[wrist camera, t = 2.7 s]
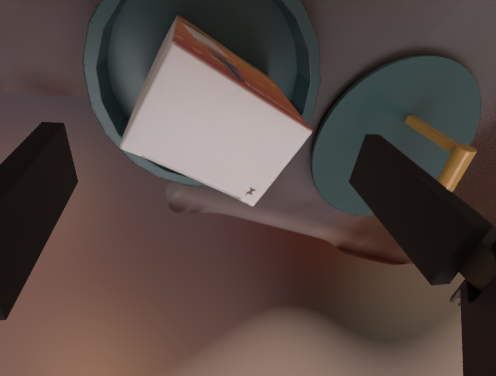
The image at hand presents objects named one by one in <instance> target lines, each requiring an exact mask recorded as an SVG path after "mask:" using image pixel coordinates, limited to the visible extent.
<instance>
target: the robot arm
mask: <svg viewBox="0 0 496 376" xmlns="http://www.w3.org/2000/svg"><path fill="white" fill-rule="evenodd" d="M77 183H78V179H77V175H76V171H75V167H74V163H73V159H72V154H71V151H70V146H69V142H68V138H67V134H66V129H65V125H64V123H53V122H42V123H41V124H40V125H39V126H38V127H37V128H36V129H35V130H34V131H33V132H32V133H31V134H30V135H29V136H28V137H27V138H26V139H25V140H24V141H23V142H22V143H21V144H20V145H19V146H18V147H17V148H16V149H15V150H14V151H13V152H12V153H11V154H10V155H9V156H8V157H7V158H6V159H5V160H4V161H3V162H2V163H1V164H0V320H6V319H7V317H8V315H9V313H10V311H11V309H12V308H13V306H14V304H15V302H16V300H17V298H18V296H19V294H20V292H21V290H22V288H23V287H24V284H25V283H26V281H27V279H28V277H29V275H30V273H31V271H32V269H33V267H34V265H35V264H36V261H37V260H38V258H39V256H40V254H41V252H42V250H43V248H44V246H45V244H46V242H47V241H48V239H49V237H50V235H51V233H52V231H53V229H54V227H55V225H56V223H57V221H58V219H59V217H60V216H61V214H62V212H63V210H64V208H65V206H66V204H67V202H68V200H69V198H70V196H71V194H72V192H73V191H74V189H75V187H76V185H77ZM349 183H350V184H351V186H352V187H353V188H354V189H355V191H356V192H357V193H358V194H359V196H360V197H361V198H362V199H363V201H364V202H365V203H366V204H367V206H368V207H369V208H370V209H371V211H372V212H373V213H374V214H375V216H376V217H377V218H378V219H379V221H380V222H381V223H382V224H383V226H384V227H385V228H386V229H387V231H388V232H389V233H390V234H391V236H392V237H393V238H394V239H395V241H396V242H397V243H398V244H399V246H400V247H401V248H402V249H403V251H404V252H405V253H406V254H407V256H408V257H409V258H410V259H411V261H412V262H413V263H414V264H415V265H416V267H417V268H418V269H419V270H420V272H421V273H422V274H423V275H424V277H425V278H426V279H427V280H428V282H429V283H430V284H431V285H441V284H450V282H451V281H452V280H453V278H454V277H455V276H456V275H457V273H458V272H460V274H461V275H462V276H463V277H464V278H465V280H464V281H463V282H462V284H461V285H460V286H459V288H458V289H457V290H456V291H455V293H454V294H453V295H452V297H451V299H450V302H454V301H455V299H456V298H461V301H460V303H459V304H458V305H459V306H461V323H462V350H463V376H496V227H495V226H494V225H493V224H491V223H490V222H489V221H488V220H487V219H485V218H484V217H483V216H482V215H480V214H479V213H478V212H477V211H475V210H474V209H472V208H471V207H470V206H469V205H468V204H467V203H465V202H463V201H462V199H460V198H459V197H458V196H457V195H455V194H454V193H453V192H451V191H449V190H448V189H447V188H446V187H444V186H443V185H442V184H441V183H439V182H438V181H437V180H436V179H435V178H433V177H432V176H431V175H430V174H428V173H427V172H426V171H425V170H423V169H422V168H421V167H420V166H418V165H417V164H416V163H415V162H413V161H412V160H411V159H410V158H408V157H407V156H406V155H405V154H403V153H402V152H401V151H400V150H398V149H397V148H396V147H395V146H393V145H392V144H391V143H390V142H389V141H387V140H386V139H385V138H384V137H382V136H381V135H379V134H365V137H364V140H363V143H362V146H361V149H360V151H359V154H358V157H357V160H356V163H355V165H354V168H353V171H352V174H351V177H350V179H349Z"/></svg>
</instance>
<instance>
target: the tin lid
mask: <svg viewBox="0 0 496 376" xmlns="http://www.w3.org/2000/svg"><path fill="white" fill-rule="evenodd" d="M480 114H481V97H480V91H479V88H478V86H477V83H476V81H475V79H474V78H473V76H472V75H471V73H470V72H469V71H468V70H467V69H466V68H465V67H464V66H462V65H460V64H459V63H457V62H456V61H453V60H451V59H448V58H445V57H441V56H436V55H415V56H408V57H404V58H401V59H397V60H394V61H392V62H389V63H387V64H384V65H382V66H380V67H378V68H377V69H375V70H373V71H371V72H369V73H368V74H367V75H365V76H364V77H362V78H361V79H359V80H358V81H357V82H356V83H355V84H353V85H352V86H351V87H350V88H349V89H348V90H347V91H346V92H345V93H344V94H343V95H342V96H341V97H340V98H339V99H338V100H337V101H336V103H335V104H334V105H333V107H332V108H331V109H330V111H329V112H328V114H327V115H326V117H325V119H324V120H323V122H322V124H321V126H320V128H319V130H318V132H317V135H316V138H315V141H314V144H313V149H312V154H311V172H312V177H313V181H314V184H315V186H316V188H317V190H318V192H319V193H320V195H321V196H322V197H323V199H324V200H325V201H326V202H327V203H328V204H330V205H331V206H332V207H334V208H335V209H338V210H340V211H342V212H345V213H348V214H353V215H364V216H368V215H375V214H374V213H373V212H372V211H371V209H370V208H369V207H368V206H367V204H366V203H365V202H364V201H363V199H362V198H361V197H360V196H359V194H358V193H357V192H356V191H355V189H354V188H353V187H352V186H351V184H350V183H349V179H350V177H351V174H352V171H353V168H354V165H355V163H356V160H357V157H358V154H359V151H360V149H361V146H362V143H363V140H364V137H365V134H379V135H381V136H382V137H384V138H385V139H386V140H387V141H389V142H390V143H391V144H392V145H393V146H395V147H396V148H397V149H398V150H400V151H401V152H402V153H403V154H405V155H406V156H407V157H408V158H410V159H411V160H412V161H413V162H415V163H416V164H417V165H418V166H420V167H421V168H422V169H423V170H425V171H426V172H427V173H428V174H430V175H431V176H432V177H433V178H435V179H436V180H437V181H438V182H439V183H441V184H442V185H443V186H444V187H446V188H447V189H448V190H449V191H451V192H453V190H454V189H455V187H456V185H457V184H458V182H459V181H460V179H461V177H462V176H463V174H464V172H465V171H466V169H467V167H468V166H469V164H470V162H471V161H472V159H473V157H474V156H475V154H476V152H477V150H476V149H475V148H473V147H471V146H470V145H471V143H472V141H473V139H474V136H475V134H476V131H477V128H478V124H479V121H480Z"/></svg>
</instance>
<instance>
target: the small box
mask: <svg viewBox="0 0 496 376" xmlns="http://www.w3.org/2000/svg"><path fill="white" fill-rule="evenodd" d="M311 134H312V129H311V128H310V127H309V125H308V124H307V123H306V122H305V120H304V119H303V118H302V117H301V116H300V114H299V113H298V112H297V110H296V109H295V108H294V107H293V105H292V104H291V103H290V102H289V100H288V99H287V98H286V97H285V95H284V94H283V93H282V92H281V90H280V89H279V88H278V87H277V85H276V84H275V83H274V82H273V80H272V79H271V78H270V77H269V76H268V75H267V74H265V73H263V72H262V71H260V70H259V69H257V68H256V67H254V66H252V65H251V64H249V63H248V62H246V61H245V60H243V59H242V58H241V57H239V56H238V55H236V54H235V53H233V52H232V51H230V50H229V49H228V48H226V47H225V46H223V45H222V44H221V43H219V42H218V41H216V40H215V39H213V38H212V37H211V36H209V35H208V34H206V33H205V32H203V31H202V30H200V29H199V28H198V27H196V26H195V25H193V24H192V23H190V22H189V21H188V20H186V19H185V18H183V17H182V16H180V15H177V16H176V18H175V20H174V22H173V23H172V25H171V27H170V29H169V31H168V33H167V35H166V37H165V39H164V41H163V43H162V45H161V47H160V49H159V51H158V54H157V56H156V58H155V60H154V62H153V64H152V66H151V69H150V71H149V73H148V75H147V77H146V80H145V82H144V84H143V87H142V89H141V92H140V94H139V97H138V99H137V102H136V104H135V107H134V109H133V112H132V114H131V117H130V119H129V122H128V125H127V127H126V129H125V132H124V134H123V137H122V139H121V141H120V148H121V149H122V150H125V151H127V152H130V153H133V154H135V155H138V156H140V157H143V158H145V159H148V160H150V161H153V162H155V163H157V164H160V165H162V166H164V167H167V168H169V169H171V170H174V171H176V172H178V173H181V174H183V175H185V176H187V177H190V178H192V179H194V180H197V181H199V182H201V183H204V184H206V185H208V186H210V187H213V188H215V189H217V190H219V191H222V192H224V193H226V194H228V195H230V196H232V197H234V198H236V199H238V200H240V201H242V202H244V203H246V204H248V205H250V206H254V205H255V204H256V202H257V201H258V200H259V199H260V197H261V196H262V195H263V194H264V193H265V191H266V190H267V189H268V188H269V186H270V185H271V184H272V183H273V181H274V180H275V179H276V178H277V176H278V175H279V174H280V173H281V171H282V170H283V169H284V168H285V166H286V165H287V164H288V163H289V161H290V160H291V159H292V158H293V156H294V155H295V154H296V153H297V151H298V150H299V149H300V148H301V146H302V145H303V144H304V142H305V141H306V140H307V138H308V137H309V136H310V135H311Z"/></svg>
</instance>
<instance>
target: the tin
mask: <svg viewBox="0 0 496 376" xmlns="http://www.w3.org/2000/svg"><path fill="white" fill-rule="evenodd" d="M177 15H180V16H182V17H183V18H185V19H186V20H188V21H189V22H190V23H192V24H193V25H195V26H196V27H198V28H199V29H200V30H202V31H203V32H205V33H206V34H208V35H209V36H211V37H212V38H213V39H215V40H216V41H218V42H219V43H221V44H222V45H223V46H225V47H226V48H228V49H229V50H230V51H232V52H233V53H235V54H236V55H238V56H239V57H241V58H242V59H243V60H245V61H246V62H248V63H249V64H251V65H252V66H254V67H256V68H257V69H259V70H260V71H262V72H263V73H265V74H267V75H268V76H269V77H270V78H271V79H272V80H273V82H274V83H275V84H276V85H277V87H278V88H279V89H280V90H281V92H282V93H283V94H284V95H285V97H286V98H287V99H288V100H289V102H290V103H291V104H292V105H293V107H294V108H295V109H296V110H297V112H298V113H299V114H300V116H301V117H302V118H303V119H304V120H305V122H306V123H308V122H309V120H310V118H311V116H312V114H313V111H314V107H315V103H316V99H317V94H318V90H319V86H320V80H321V77H320V57H319V45H318V44H319V43H318V40H317V37H316V35H315V32H314V29H313V27H312V24H311V21H310V19H309V16H308V13H307V11H306V8H305V6H304V5H303V4H302V2H301V1H300V0H101V2H100V3H99V5H98V7H97V8H96V10H95V12H94V14H93V15H92V17H91V19H90V22H89V25H88V31H87V37H86V44H85V50H84V57H83V69H84V74H85V79H86V85H87V90H88V96H89V101H90V105H91V107H92V109H93V110H94V112H95V114H96V116H97V118H98V120H99V122H100V123H101V125H102V127H103V129H104V131H105V133H106V135H107V136H108V137H109V138H110V139H111V140H112V141H113V142H114V144H115V145H117V147H118V148H120V141H121V139H122V137H123V134H124V132H125V129H126V127H127V125H128V122H129V119H130V117H131V114H132V112H133V109H134V107H135V104H136V102H137V99H138V97H139V94H140V92H141V89H142V87H143V84H144V82H145V80H146V77H147V75H148V73H149V71H150V69H151V66H152V64H153V62H154V60H155V58H156V56H157V54H158V51H159V49H160V47H161V45H162V43H163V41H164V39H165V37H166V35H167V33H168V31H169V29H170V27H171V25H172V23H173V22H174V20H175V18H176V16H177ZM120 150H121V151H122V152H123V153H125V155H127V157H128V158H129V159H130V160H132V161H133V163H135V164H137V165H139V166H141V167H142V168H144V169H146V170H148V171H149V172H151V173H153V174H155V175H156V176H158V177H160V178H163V179H167V180H171V181H174V182H178V183H182V184H186V185H190V186H191V185H192V186H208V185H206V184H204V183H201V182H199V181H197V180H194V179H192V178H190V177H187V176H185V175H183V174H181V173H178V172H176V171H174V170H171V169H169V168H167V167H164V166H162V165H160V164H157V163H155V162H153V161H150V160H148V159H145V158H143V157H140V156H138V155H135V154H133V153H130V152H127V151H125V150H122V149H121V148H120Z"/></svg>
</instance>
